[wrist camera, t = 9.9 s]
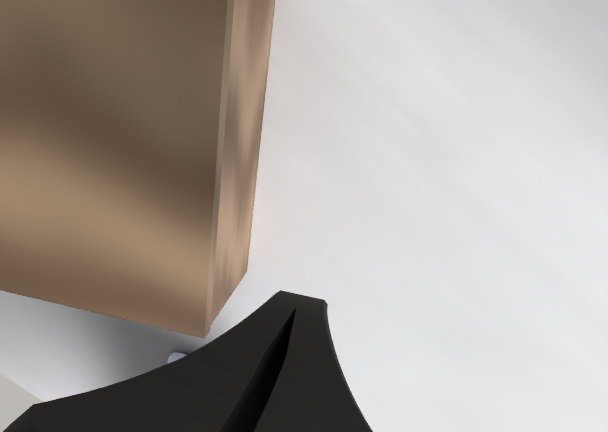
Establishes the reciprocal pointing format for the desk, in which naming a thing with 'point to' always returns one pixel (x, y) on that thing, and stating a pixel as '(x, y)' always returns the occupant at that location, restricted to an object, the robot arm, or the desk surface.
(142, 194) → the cabinet
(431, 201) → the desk surface
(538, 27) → the desk surface
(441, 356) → the desk surface
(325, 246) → the desk surface
